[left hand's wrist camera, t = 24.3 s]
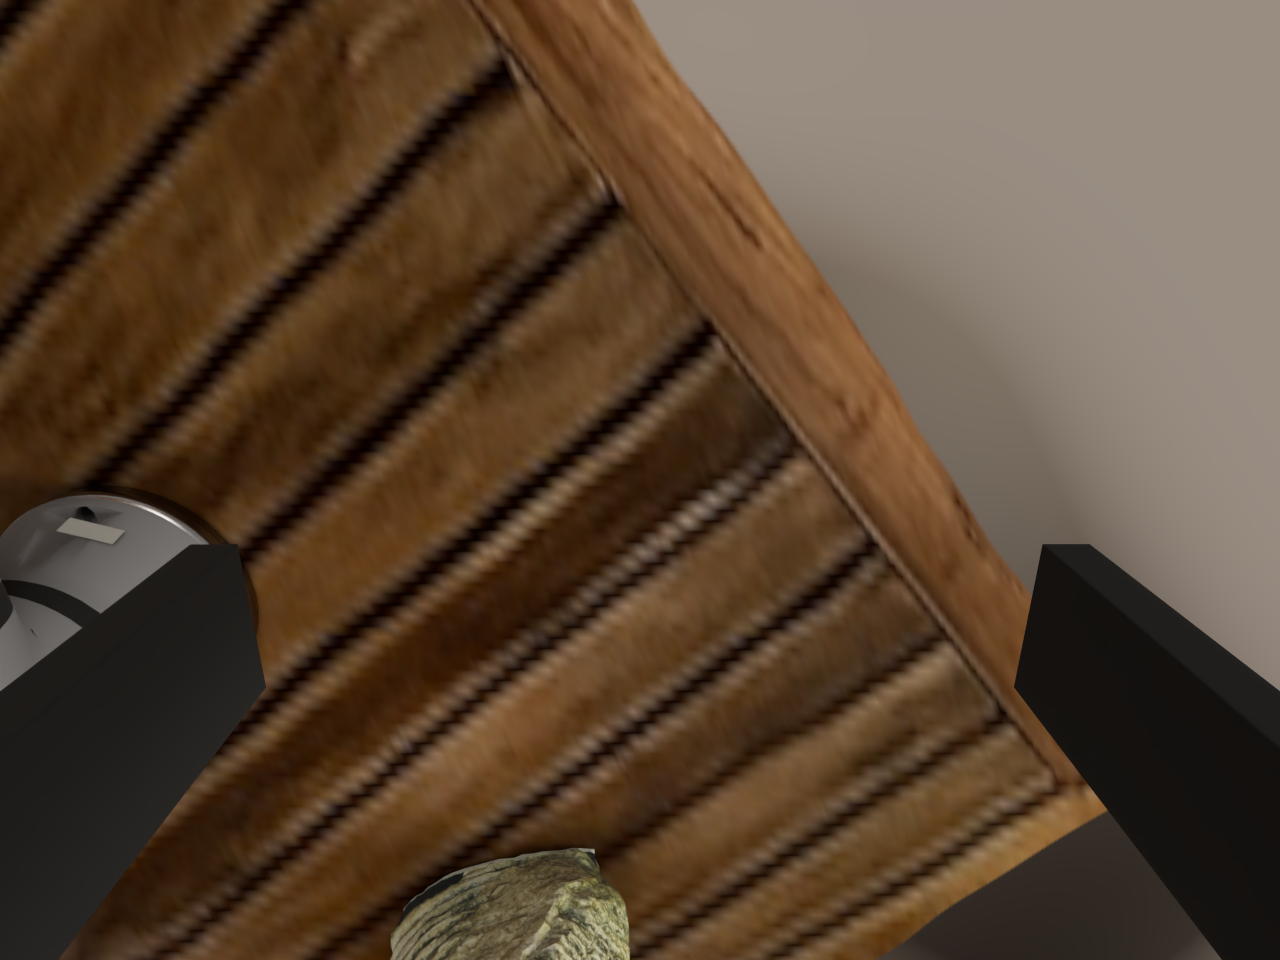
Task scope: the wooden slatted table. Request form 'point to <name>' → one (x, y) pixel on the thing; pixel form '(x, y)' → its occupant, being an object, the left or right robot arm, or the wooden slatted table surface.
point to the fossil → (517, 912)
